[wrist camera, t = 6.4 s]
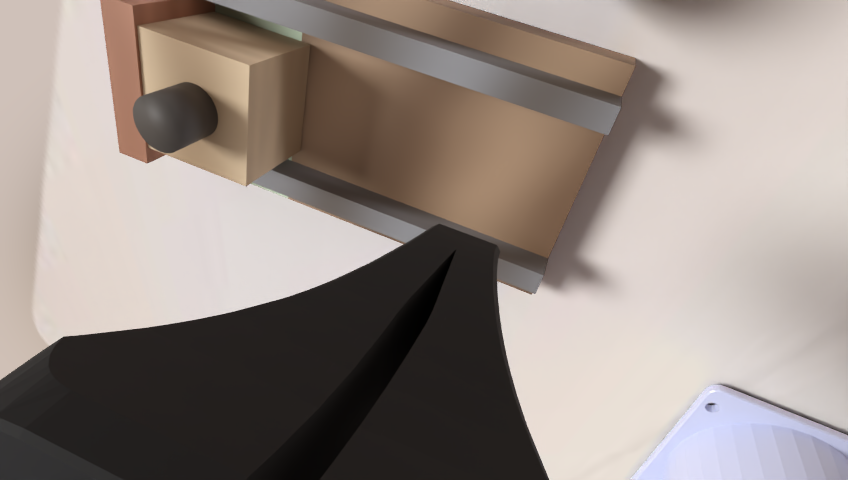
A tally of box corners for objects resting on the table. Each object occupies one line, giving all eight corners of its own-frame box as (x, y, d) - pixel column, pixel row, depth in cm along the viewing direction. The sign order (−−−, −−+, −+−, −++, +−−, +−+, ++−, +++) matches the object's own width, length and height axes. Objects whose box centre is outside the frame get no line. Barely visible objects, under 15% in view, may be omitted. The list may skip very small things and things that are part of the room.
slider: (310, 44, 18) (214, 77, 14) (300, 150, 21) (215, 206, 16) (213, 11, 19) (93, 33, 15) (214, 118, 21) (111, 163, 17)
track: (635, 58, 16) (637, 99, 12) (535, 278, 21) (514, 358, 17) (202, -76, 19) (84, -80, 15) (207, 150, 24) (121, 194, 20)
